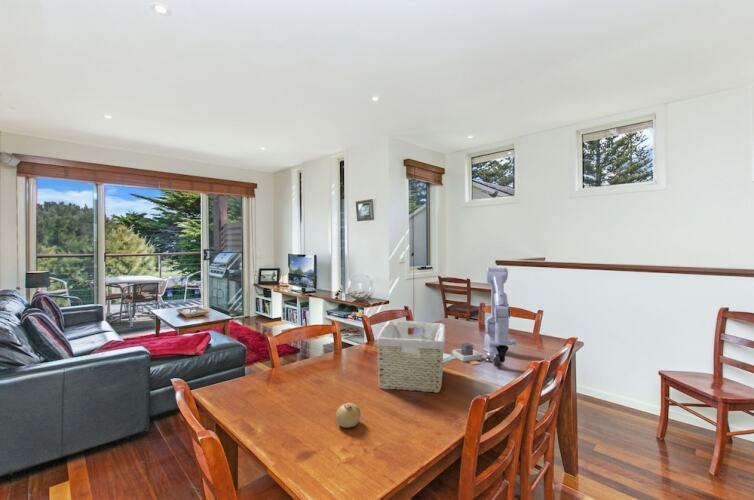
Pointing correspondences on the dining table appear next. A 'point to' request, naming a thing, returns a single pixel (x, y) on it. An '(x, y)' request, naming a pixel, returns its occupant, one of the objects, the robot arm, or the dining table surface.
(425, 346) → the basket
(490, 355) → the crank
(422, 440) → the dining table surface
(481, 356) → the tray
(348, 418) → the onion
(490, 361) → the crank foot
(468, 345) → the stop block
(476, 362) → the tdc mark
